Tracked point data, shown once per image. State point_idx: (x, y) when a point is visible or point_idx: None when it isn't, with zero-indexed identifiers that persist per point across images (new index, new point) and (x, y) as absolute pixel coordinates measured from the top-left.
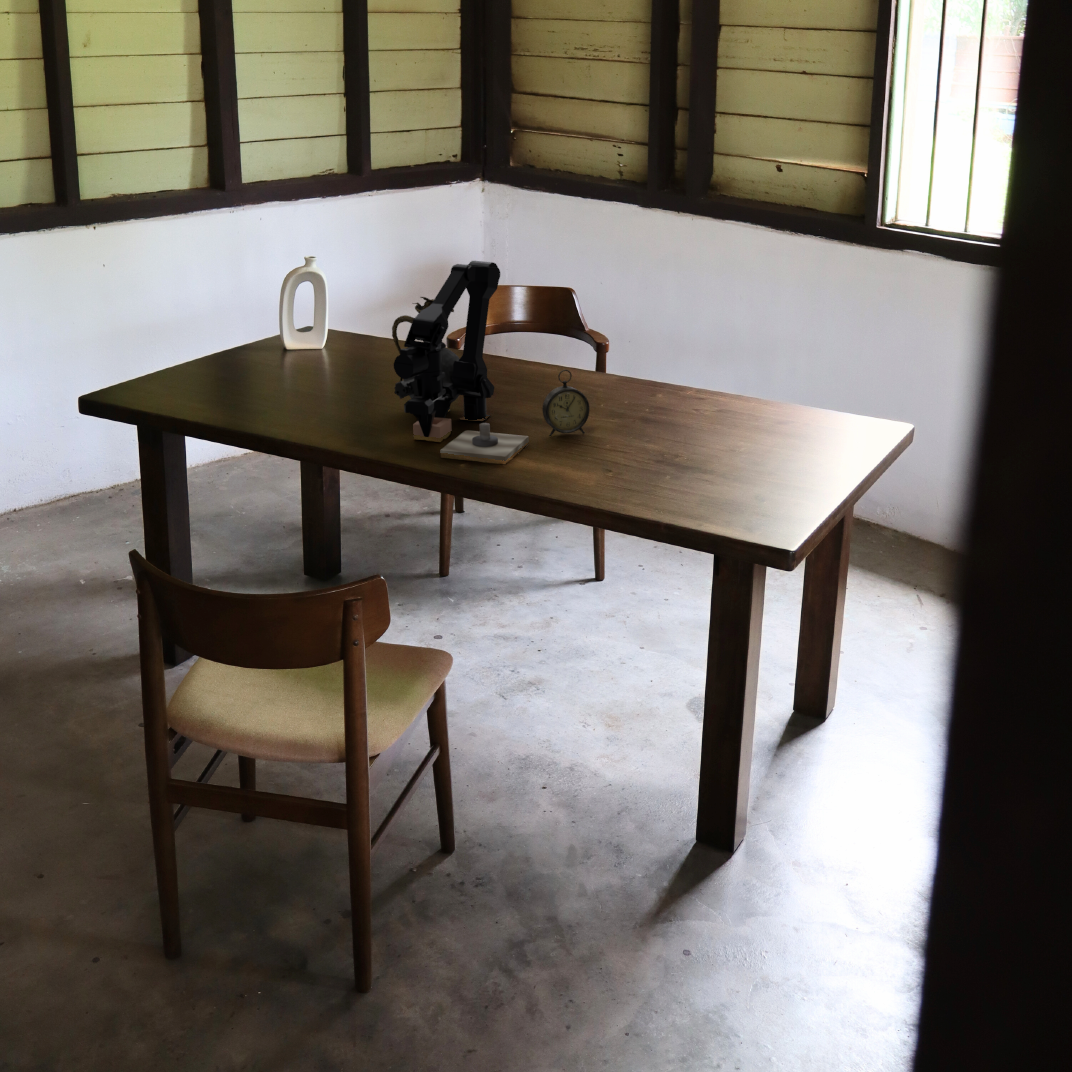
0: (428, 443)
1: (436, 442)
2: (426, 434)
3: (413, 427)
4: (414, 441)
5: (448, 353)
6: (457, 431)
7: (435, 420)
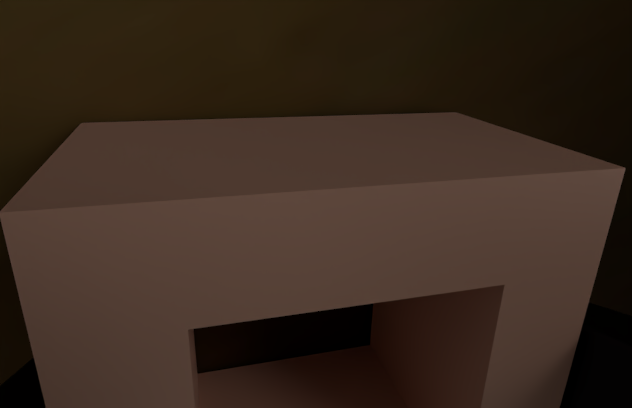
0: None
1: None
2: None
3: (29, 192)
4: (46, 150)
5: None
6: None
7: (469, 386)
